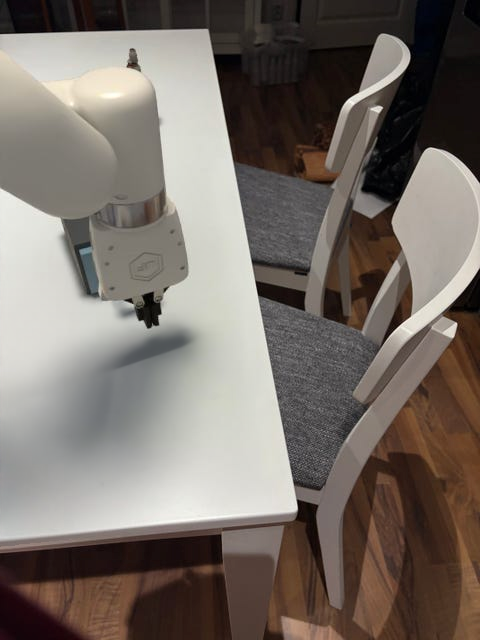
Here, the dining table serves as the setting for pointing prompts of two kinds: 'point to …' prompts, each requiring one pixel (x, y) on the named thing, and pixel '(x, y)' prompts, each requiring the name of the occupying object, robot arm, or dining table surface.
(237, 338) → the dining table surface
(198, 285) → the dining table surface
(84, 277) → the grey drawer cabinet
